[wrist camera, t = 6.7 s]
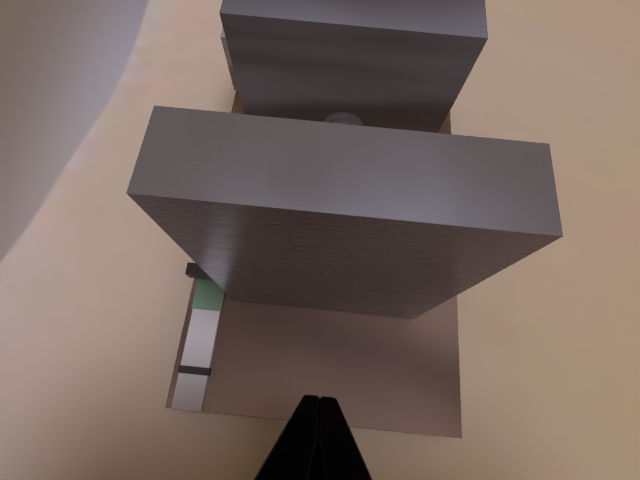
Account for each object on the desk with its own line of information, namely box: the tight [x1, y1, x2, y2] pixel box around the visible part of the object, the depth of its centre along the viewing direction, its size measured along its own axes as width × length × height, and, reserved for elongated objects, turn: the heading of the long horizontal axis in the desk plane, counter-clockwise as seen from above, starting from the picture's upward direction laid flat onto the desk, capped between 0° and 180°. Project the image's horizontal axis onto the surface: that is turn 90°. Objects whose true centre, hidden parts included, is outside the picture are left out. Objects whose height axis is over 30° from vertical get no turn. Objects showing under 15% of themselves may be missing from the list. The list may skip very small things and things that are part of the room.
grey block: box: [127, 106, 563, 319], centre depth 13 cm, size 6×10×10 cm, turn 84°
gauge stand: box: [166, 0, 488, 438], centre depth 16 cm, size 18×12×8 cm, turn 174°
